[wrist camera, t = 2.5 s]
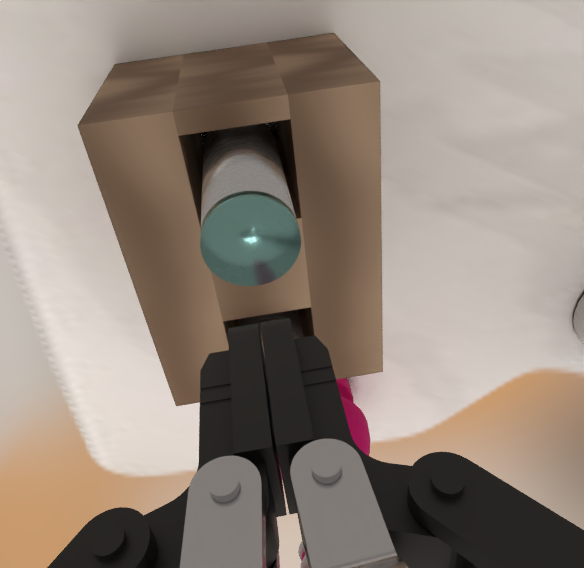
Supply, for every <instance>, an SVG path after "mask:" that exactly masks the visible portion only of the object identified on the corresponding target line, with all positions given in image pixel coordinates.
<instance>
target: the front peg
mask: <svg viewBox="0 0 584 568" xmlns="http://www.w3.org/2000/svg"><path fill="white" fill-rule="evenodd" d="M200 248H201V254H202V257H203V259H204V261H205V263H206V265H207V266H208V268H209V269H210V270H211V271H212V272H213V273H214V274H215V275H216V276H218V277H219V278H221V279H222V280H225V281H227V282H229V283H232V284H235V285H240V286H258V285H263V284H267V283H270V282H272V281H274V280H276V279H278V278H280V277H281V276H283V275H284V274H285V273H286V272H288V271H289V270H290V269H291V267H292V266H293V265H294V263H295V262H296V260H297V258H298V255H299V253H300V249H301V235H300V230H299V227H298V223H297V219H296V215H295V212H294V208H293V204H292V201H291V197H290V193H289V189H288V186H287V182H286V178H285V175H284V171H283V167H282V163H281V160H280V156H279V152H278V149H277V145H276V141H275V138H274V136H273V134H272V132H271V131H270V129H269V128H268V127H267V126H266V125H265V124H264V123H261V124H255V125H248V126H241V127H234V128H228V129H221V130H214V131H209V132H208V133H207V136H206V138H205V141H204V148H203V176H202V205H201V234H200Z"/></svg>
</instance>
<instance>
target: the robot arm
mask: <svg viewBox="0 0 584 568" xmlns="http://www.w3.org/2000/svg"><path fill="white" fill-rule="evenodd" d="M573 323H574V330H575V332H576V334H577V336H578V338H579V339H580V340H581V341H582V342H583V344H584V294H583V296H582V298H581V299H580V301H579V303H578V305H577V308H576V310H575V313H574V321H573ZM261 332H262V340H263V346H262V341H261V335H260V330H259V325H258V323H257V324H251V325H245V326H239V327H233V328H228V342H229V350H227V351H221V352H215V353H209V355H208V357H207V359H206V361H205V363H204V365H203V367H202V368H201V370H200V391H201V392H200V429H199V466H198V470H197V473H196V474H195V475H194V477H193V479H192V481H191V483H190V486H189V487H188V488H187V489H186V490H185V491H184V492H183V493H182V494H181V495H180V496H179V497H177V498H176V499H175V500H173V501H171V502H170V503H168V504H166V505H164V506H162V507H160V508H158V509H156V510H154V511H152V512H150V513H148V514H146V515H144V516H143V515H142V514H141V513H140V512H138V511H136V510H134V509H131V508H114V509H111V510H107V511H105V512H103V513H101V514H99V515H97V516H96V517H94V518H93V519H92V520H91V521H89V522H88V523H87V524H86V525H85V526H84V527H83V528H82V530H81V531H80V532H79V533H78V534H77V535H76V536H75V537H74V538H73V540H72V541H71V542H70V543H69V544H68V545H67V547H65V548H64V550H63V551H62V552H61V553H60V554H59V555H58V556H57V557H56V559H55V560H54V561H53V562H52V563H51V564H50V565H49V566H48V568H279V567H280V565H279V551H278V550H279V536H278V527H277V519H276V517H278V516H284V515H286V507H285V499H284V492H283V484H282V479H283V483H284V489H285V494H286V498H287V504H288V508H289V513H290V514H294V513H298V518H299V523H300V530H301V535H302V541H303V546H304V551H305V556H306V560H307V565H308V568H584V530H582V529H581V528H579V527H577V526H576V525H574V524H573V523H571V522H569V521H567V520H566V519H564V518H563V517H561V516H559V515H558V514H556V513H554V512H553V511H551V510H550V509H548V508H546V507H545V506H543V505H541V504H540V503H538V502H536V501H535V500H533V499H532V498H530V497H528V496H527V495H525V494H524V493H522V492H520V491H519V490H517V489H515V488H513V487H512V486H510V485H509V484H507V483H505V482H504V481H502V480H501V479H499V478H497V477H496V476H494V475H492V474H491V473H489V472H488V471H486V470H484V469H483V468H481V467H479V466H478V465H476V464H474V463H473V462H471V461H470V460H468V459H466V458H464V457H462V456H460V455H457V454H453V453H449V452H435V453H430V454H427V455H425V456H423V457H422V458H420V459H419V460H417V461H416V462H415V463H414V465H413V466H407V465H399V464H390V463H385V462H381V461H378V460H375V459H373V458H371V457H369V456H368V455H366V454H365V453H364V452H363V451H361V450H360V449H359V448H358V446H357V445H356V444H355V442H354V440H353V438H352V436H351V433H350V429H349V425H348V422H347V418H346V414H345V411H344V407H343V403H342V399H341V396H340V392H339V388H338V385H337V382H336V377H335V374H334V370H333V367H332V362H331V359H330V355H329V351H328V349H327V347H326V346H325V345H324V344H323V343H322V342H321V341H320V340H319V339H318V338H317V337H316V336H309V337H303V338H297V339H294V335H293V330H292V325H291V320H290V318H286V319H280V320H274V321H268V322H262V323H261ZM263 348H264V351H263ZM264 355H265V356H264ZM281 474H282V476H281Z"/></svg>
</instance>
